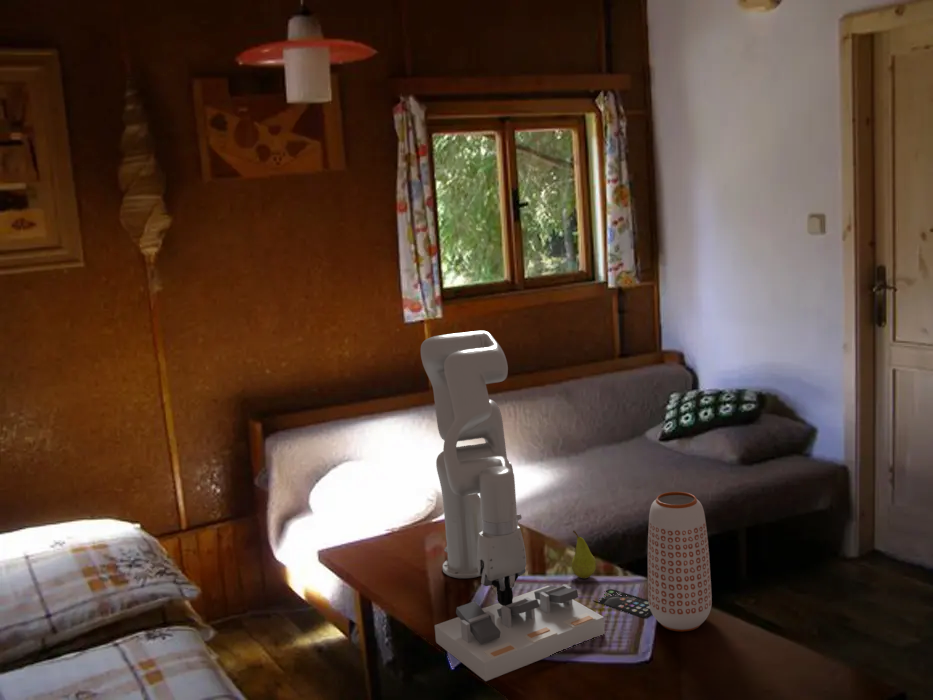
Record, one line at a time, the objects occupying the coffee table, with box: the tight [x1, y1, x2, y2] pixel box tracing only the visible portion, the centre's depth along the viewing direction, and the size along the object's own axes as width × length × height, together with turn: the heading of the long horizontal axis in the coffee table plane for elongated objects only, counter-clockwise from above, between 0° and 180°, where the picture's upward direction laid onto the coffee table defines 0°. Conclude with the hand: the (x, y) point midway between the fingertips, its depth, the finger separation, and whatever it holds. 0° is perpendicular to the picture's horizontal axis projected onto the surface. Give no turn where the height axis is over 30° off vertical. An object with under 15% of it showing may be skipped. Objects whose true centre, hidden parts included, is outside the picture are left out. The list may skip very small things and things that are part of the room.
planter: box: [647, 491, 713, 632], centre depth 210 cm, size 13×13×28 cm
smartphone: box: [598, 588, 653, 619], centre depth 223 cm, size 7×1×15 cm
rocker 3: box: [534, 585, 579, 603], centre depth 215 cm, size 10×5×2 cm, turn 30°
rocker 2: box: [497, 599, 539, 617], centre depth 210 cm, size 10×5×2 cm, turn 30°
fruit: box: [571, 530, 597, 579], centre depth 237 cm, size 6×6×12 cm
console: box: [434, 583, 606, 682], centre depth 210 cm, size 20×30×8 cm, turn 121°
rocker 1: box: [455, 600, 501, 644], centre depth 205 cm, size 10×5×2 cm, turn 32°
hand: (505, 604), depth 214 cm, fingers closed
